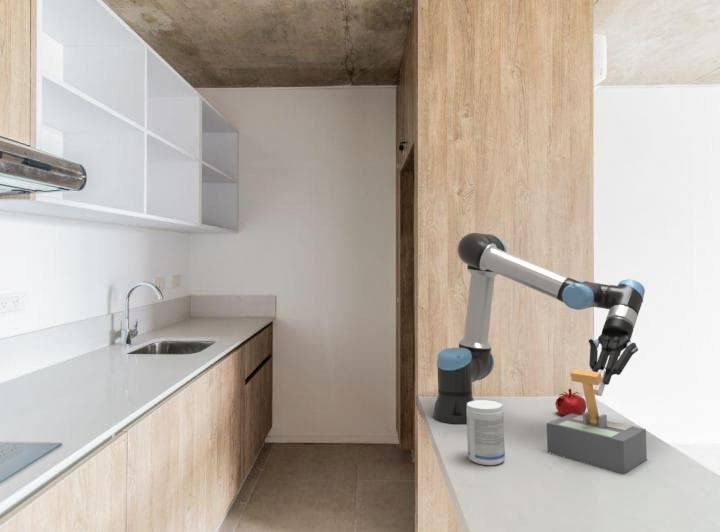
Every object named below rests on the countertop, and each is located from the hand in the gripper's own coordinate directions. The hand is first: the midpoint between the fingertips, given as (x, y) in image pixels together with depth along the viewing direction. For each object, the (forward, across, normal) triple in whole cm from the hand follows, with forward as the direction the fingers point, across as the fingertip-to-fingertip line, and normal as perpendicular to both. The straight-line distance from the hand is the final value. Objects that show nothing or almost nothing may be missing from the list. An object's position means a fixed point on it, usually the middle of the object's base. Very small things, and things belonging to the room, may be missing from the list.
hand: (596, 392), depth 128 cm
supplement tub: (+29, +20, +5) cm, 35 cm away
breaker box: (+12, +1, -12) cm, 17 cm away
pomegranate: (-10, +24, -36) cm, 44 cm away
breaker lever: (+6, +1, -7) cm, 9 cm away
